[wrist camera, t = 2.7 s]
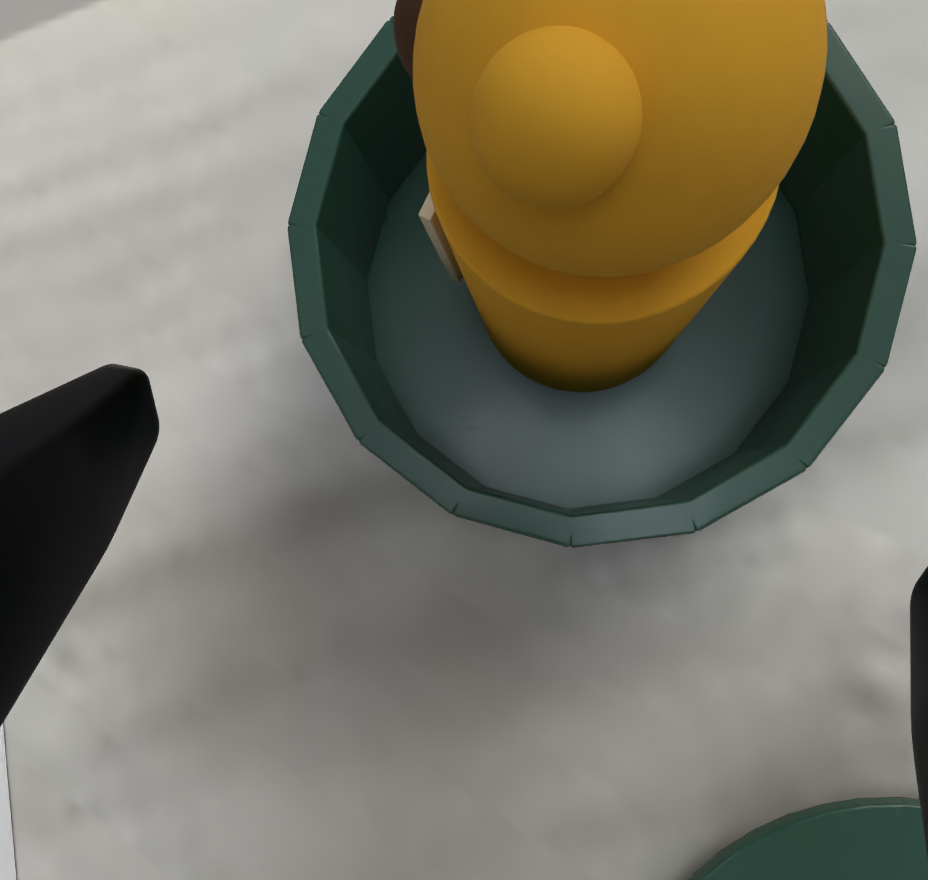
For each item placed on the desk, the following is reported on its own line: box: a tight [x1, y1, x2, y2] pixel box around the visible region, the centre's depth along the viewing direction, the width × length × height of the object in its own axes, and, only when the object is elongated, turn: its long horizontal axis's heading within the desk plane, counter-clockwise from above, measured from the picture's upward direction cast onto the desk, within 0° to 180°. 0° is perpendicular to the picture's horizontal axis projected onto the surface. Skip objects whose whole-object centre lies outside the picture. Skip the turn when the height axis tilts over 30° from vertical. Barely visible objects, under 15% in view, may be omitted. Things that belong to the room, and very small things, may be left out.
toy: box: [394, 0, 827, 392], centre depth 14 cm, size 5×5×13 cm
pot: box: [288, 16, 916, 548], centre depth 18 cm, size 12×12×5 cm
